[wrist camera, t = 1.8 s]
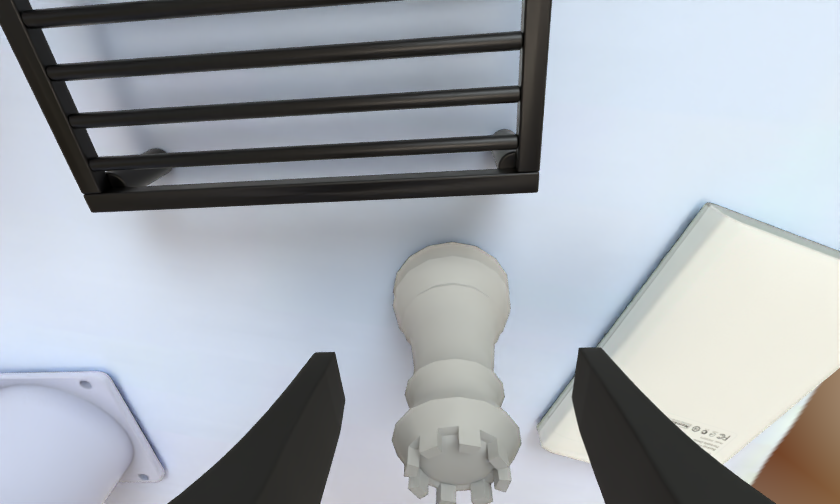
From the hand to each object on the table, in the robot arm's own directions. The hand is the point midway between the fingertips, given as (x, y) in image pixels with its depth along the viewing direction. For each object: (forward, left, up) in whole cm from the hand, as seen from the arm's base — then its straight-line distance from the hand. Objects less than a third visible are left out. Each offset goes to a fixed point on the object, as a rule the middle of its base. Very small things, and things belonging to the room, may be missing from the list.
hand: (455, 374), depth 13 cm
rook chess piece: (0, 0, -5) cm, 5 cm away
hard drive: (+10, -4, -5) cm, 12 cm away
